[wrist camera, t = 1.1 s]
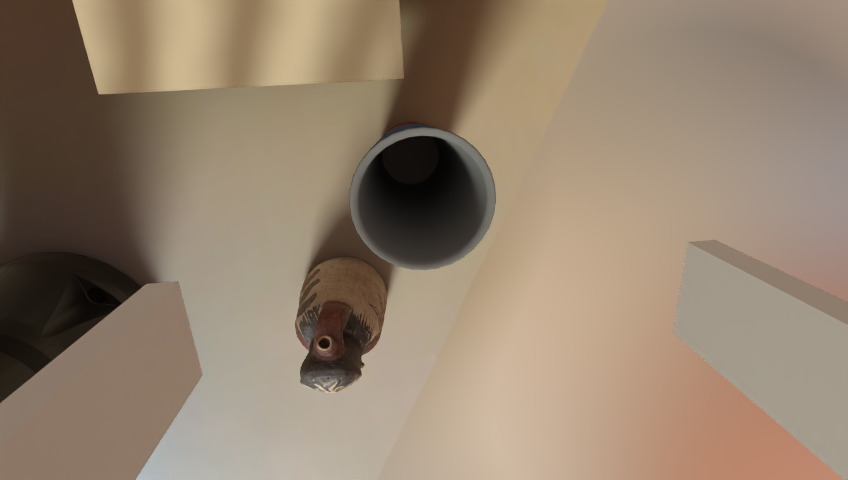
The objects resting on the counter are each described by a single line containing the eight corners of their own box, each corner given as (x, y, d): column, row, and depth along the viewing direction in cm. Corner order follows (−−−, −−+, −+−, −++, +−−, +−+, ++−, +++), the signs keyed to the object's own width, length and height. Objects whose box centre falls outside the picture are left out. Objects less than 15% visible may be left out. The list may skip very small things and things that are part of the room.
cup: (461, 119, 34) (511, 141, 20) (444, 203, 36) (478, 279, 22) (373, 102, 33) (360, 113, 19) (361, 190, 35) (340, 259, 21)
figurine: (300, 324, 39) (263, 422, 27) (306, 249, 36) (267, 322, 25) (381, 332, 39) (377, 430, 28) (391, 259, 37) (391, 334, 26)
